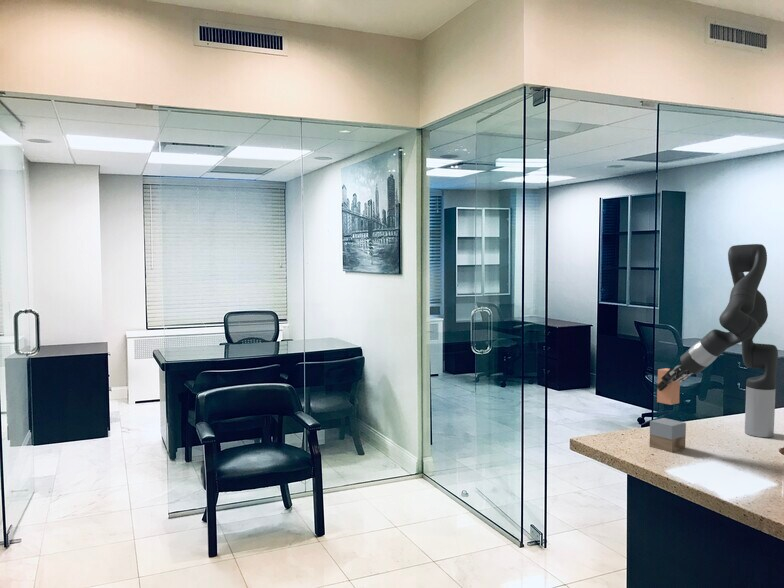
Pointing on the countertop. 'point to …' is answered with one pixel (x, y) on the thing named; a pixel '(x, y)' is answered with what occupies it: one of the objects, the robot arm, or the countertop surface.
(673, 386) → the pillar
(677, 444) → the tower bottom slab
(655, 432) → the tower top slab
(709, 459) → the countertop surface
